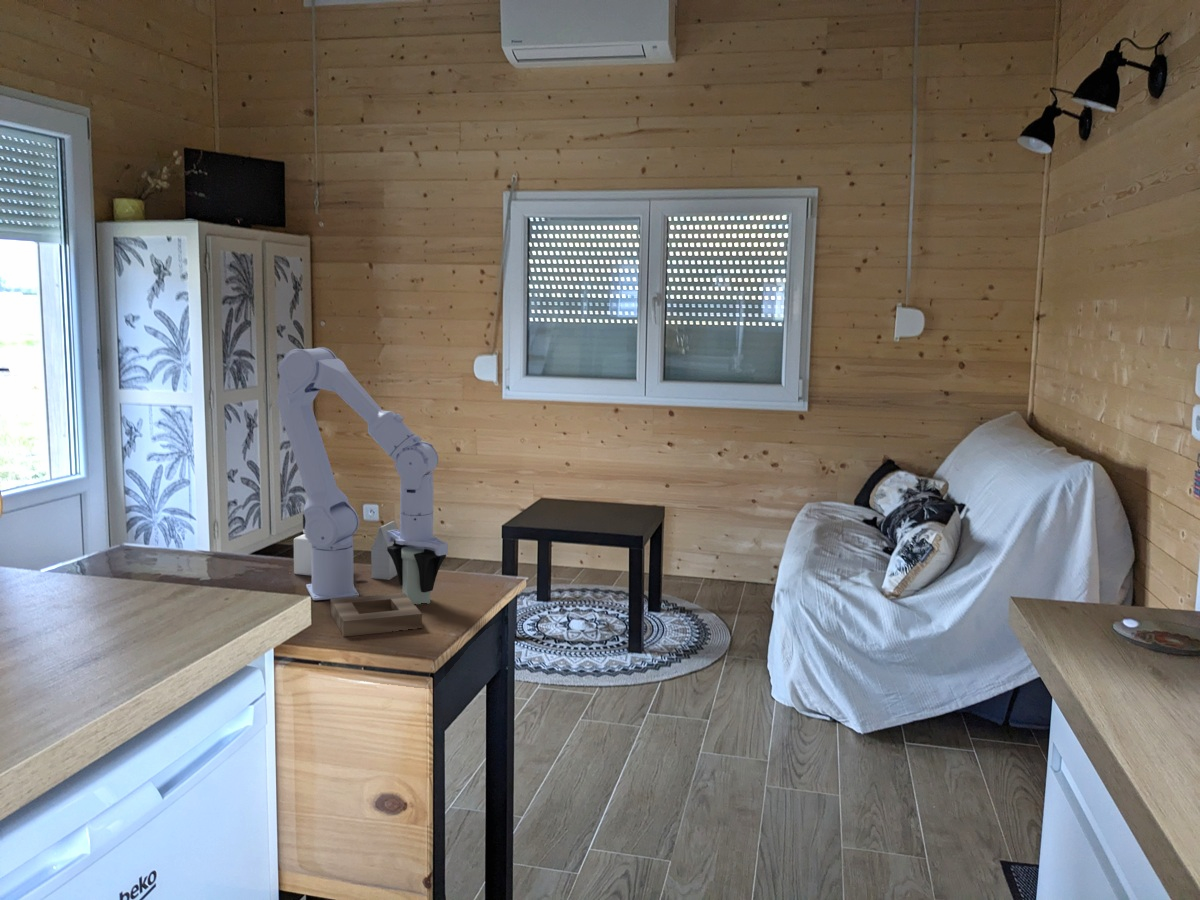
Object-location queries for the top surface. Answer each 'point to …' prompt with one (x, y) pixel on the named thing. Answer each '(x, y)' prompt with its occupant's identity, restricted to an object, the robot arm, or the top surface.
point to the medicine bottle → (302, 554)
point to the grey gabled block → (382, 554)
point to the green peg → (412, 576)
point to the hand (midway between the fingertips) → (416, 587)
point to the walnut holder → (375, 614)
